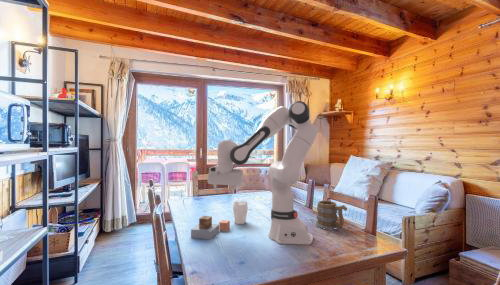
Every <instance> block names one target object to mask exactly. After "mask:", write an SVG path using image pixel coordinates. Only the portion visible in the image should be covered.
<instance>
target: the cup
mask: <svg viewBox="0 0 500 285" xmlns="http://www.w3.org/2000/svg"><path fill="white" fill-rule="evenodd" d="M248 209H249V208H248V202H247V201H242V200H241V201H234V202H233V205H232V210H233V217H234V223H235V224H237V225H243V224H246V222H247V214H248Z"/></svg>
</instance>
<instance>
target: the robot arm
mask: <svg viewBox="0 0 500 285" xmlns="http://www.w3.org/2000/svg"><path fill="white" fill-rule="evenodd" d="M287 125H288V126H289V127H291V128H293V129H295V132H294V134H293V135H292V137H291V138H290V141H289V142H288V144H287V145H286V147H285V148H284V154H283V156H282V158H281V160H277V161H274V162H272V163H271V164H270V165H269V166H268V175H269V181H270V183H269V184H270V188H271V209H270V210H271V211H270V218H271V220H270V222H271V225H270V229H269V234H268V238H270V239H271V240H272V241H275V242H276V243H277V244H279V245H280V244H282V245H284V244H285V245H307V246H308V245H311V244H312V243H313V242H314V236H313V235H312V233H310V232H309V228H308V226H307V224H306V223H305V222H304V221H302V220H301V219H300V218H299V217H298V216H299V215H298V211H297V210H295V209H294V192H293V191H292V190H293V189H292V186H291V185H294V184H296V183H298V181H299V179H300V170H301V169H302V168H301V167H302V165H303V162H304V159H305V158H306V156H307V154H308V152H309V150H310V149H311V147H312V146H313V145H314V142H315V140H316V137H317V135H318V133H319V132H318V128H317V126H316V125H315V124H313V123H311V113H310V108H309V107H308V104H307V103H306V102H304V101H302V100H301V101H300V100H297V101H294V102H292V103H291V104H290V105H289V109H288V108H287V107H285V106H284V105H283V106H279V107H277V108H275V109H273V110H272V111H271V112H270V113H268V114H267V116H266V117H264V119H263V120H262V121H261V122H260V123H259V125H258V127H257V129H256V130H255V132H254V133H253V134H252V135H251V136H249V138H247V139H246V141H244V142H243V143H242V144H238V143H237V142H234V141H233V140H232V139H224V140H221V141H220V142H218V144H217V152H216V154H217V162H216V163H217V165H213V166H211V167H209V168H208V174H207V178H206V179H207V180H206V181H207V182H206V183H207V184H208V185H213V188H214V192H215V193H216V194H217V193H219V192H220V189H219V188H218V185H219V186H232V189H231V190H230V194H235V190H236V189H237V187H238V186H239V187H240V186H242V184H243V170H242V169H240V168H234V167H233V166H234V164H235V165H237V166H242V165H245V164H246V163H247V162H248V161H249V158H250V157H251V154H252V152H253V151H254V150H255V149H256V148H258V147H259V146H260V144H262V143H263V142H264V141H266V140H268V139H270V138H272V137H273V136H275V135H276V134H278V133H279V132H280V131H281V130H282V129H283V128H284V127H285V126H287Z"/></svg>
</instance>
